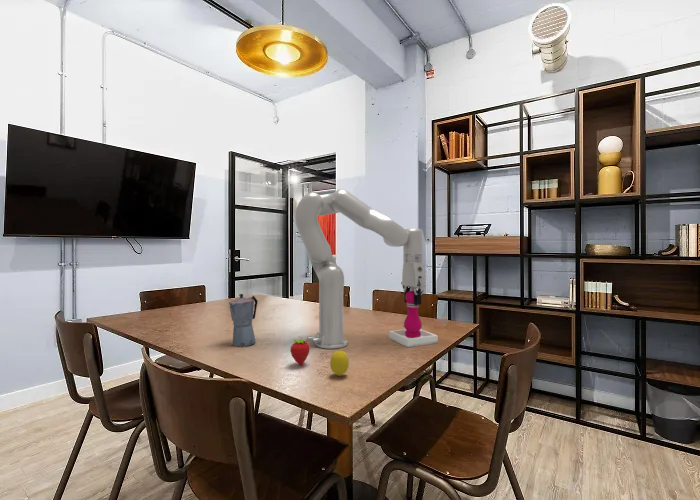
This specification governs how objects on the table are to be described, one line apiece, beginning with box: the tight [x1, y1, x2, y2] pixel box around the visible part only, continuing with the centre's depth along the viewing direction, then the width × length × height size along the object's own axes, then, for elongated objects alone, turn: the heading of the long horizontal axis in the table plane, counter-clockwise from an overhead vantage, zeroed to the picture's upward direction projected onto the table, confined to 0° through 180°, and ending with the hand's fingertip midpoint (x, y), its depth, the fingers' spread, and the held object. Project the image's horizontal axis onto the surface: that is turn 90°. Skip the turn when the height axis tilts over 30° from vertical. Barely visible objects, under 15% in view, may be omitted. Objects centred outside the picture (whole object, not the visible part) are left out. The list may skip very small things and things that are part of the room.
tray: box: [388, 328, 439, 348], centre depth 145 cm, size 14×14×3 cm
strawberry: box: [290, 337, 311, 367], centre depth 116 cm, size 6×8×10 cm
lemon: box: [329, 349, 350, 377], centre depth 106 cm, size 6×6×8 cm
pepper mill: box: [403, 287, 423, 338], centre depth 144 cm, size 7×7×20 cm
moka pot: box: [228, 293, 258, 348], centre depth 141 cm, size 10×15×20 cm, turn 158°
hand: (412, 302), depth 144 cm, fingers closed on pepper mill, 5 cm apart
